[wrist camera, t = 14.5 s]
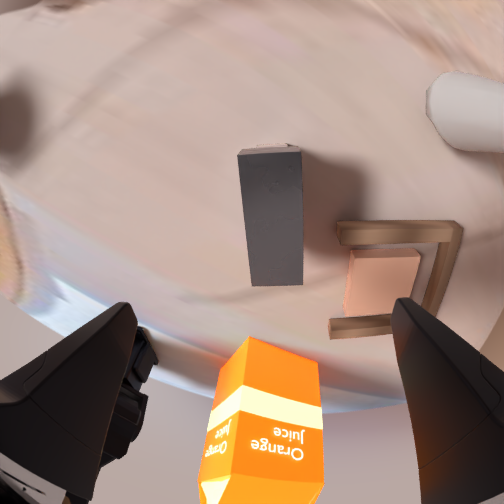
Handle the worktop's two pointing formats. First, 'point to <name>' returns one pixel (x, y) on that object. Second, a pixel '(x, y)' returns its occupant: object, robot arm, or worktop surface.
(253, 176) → the grey block
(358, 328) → the bay
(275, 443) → the orange juice
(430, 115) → the salt shaker
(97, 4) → the worktop surface
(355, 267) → the tile
